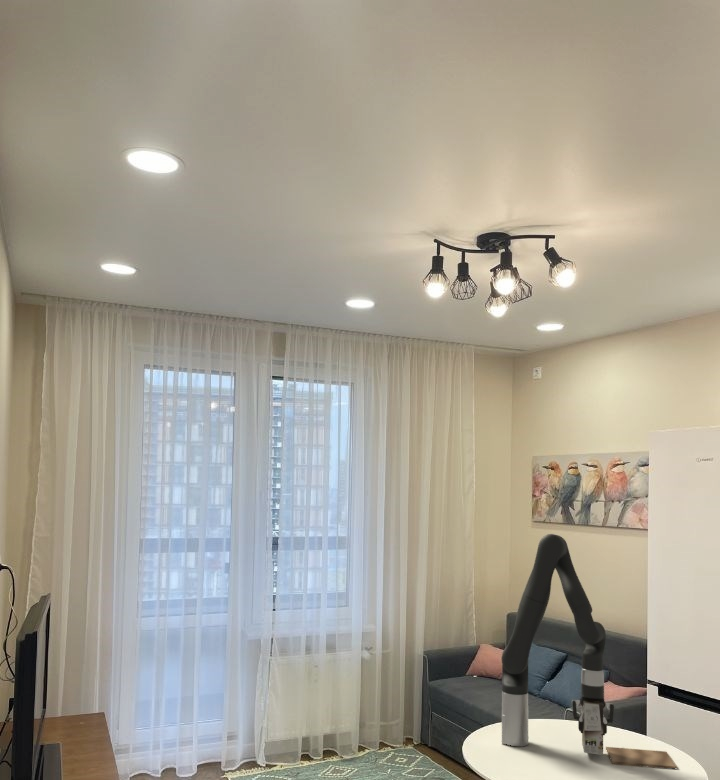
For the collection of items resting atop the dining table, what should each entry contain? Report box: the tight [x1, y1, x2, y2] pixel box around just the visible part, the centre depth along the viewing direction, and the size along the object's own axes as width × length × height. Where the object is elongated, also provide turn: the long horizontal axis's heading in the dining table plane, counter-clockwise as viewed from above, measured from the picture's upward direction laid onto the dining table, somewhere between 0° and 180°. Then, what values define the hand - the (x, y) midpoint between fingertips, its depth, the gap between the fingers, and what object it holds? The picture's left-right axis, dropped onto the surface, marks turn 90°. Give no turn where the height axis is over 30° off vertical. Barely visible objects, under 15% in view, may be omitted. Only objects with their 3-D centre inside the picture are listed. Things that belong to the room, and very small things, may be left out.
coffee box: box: [581, 701, 604, 756], centre depth 256 cm, size 9×6×16 cm
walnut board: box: [605, 746, 678, 769], centre depth 253 cm, size 20×15×1 cm
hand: (592, 733), depth 256 cm, fingers closed on coffee box, 6 cm apart
